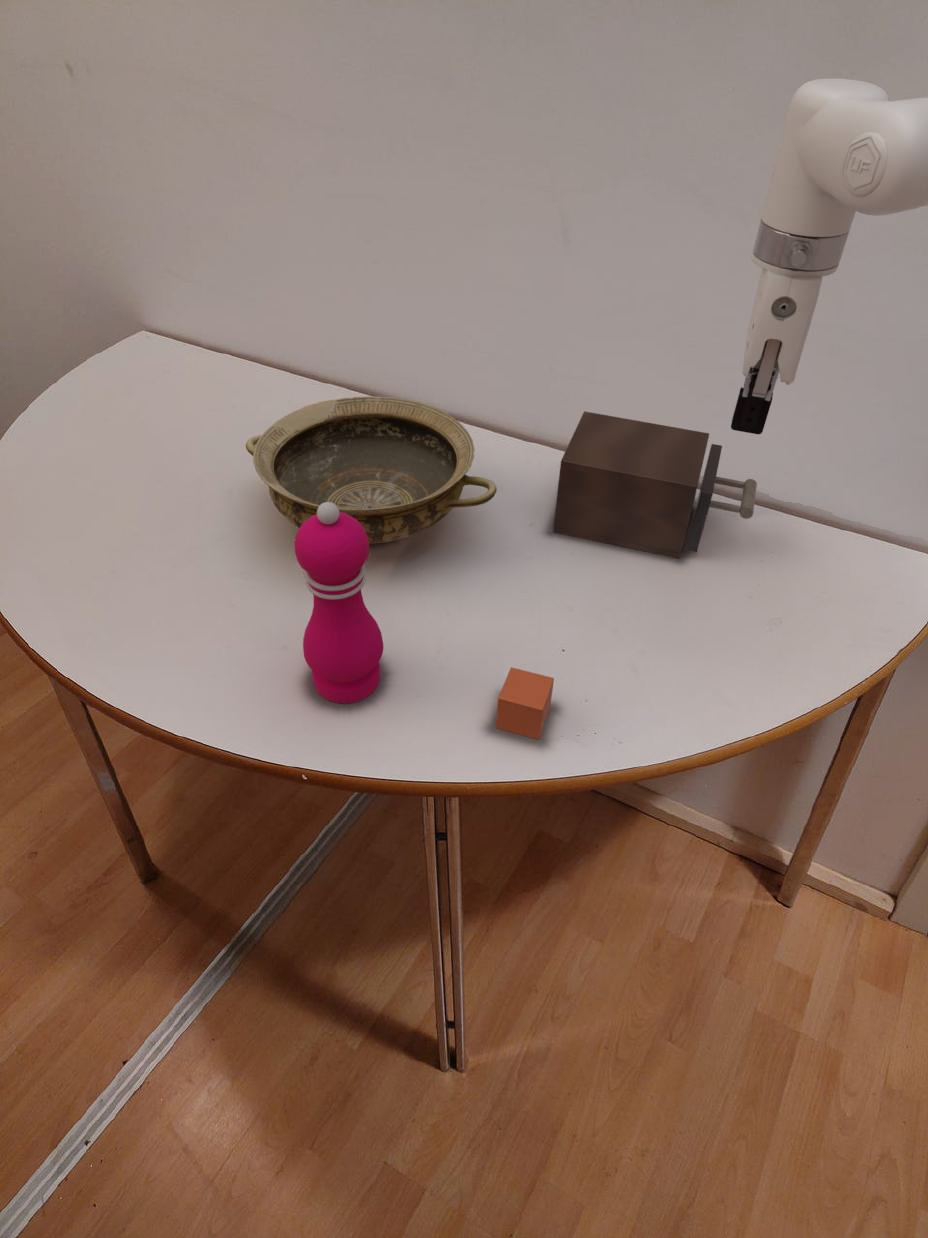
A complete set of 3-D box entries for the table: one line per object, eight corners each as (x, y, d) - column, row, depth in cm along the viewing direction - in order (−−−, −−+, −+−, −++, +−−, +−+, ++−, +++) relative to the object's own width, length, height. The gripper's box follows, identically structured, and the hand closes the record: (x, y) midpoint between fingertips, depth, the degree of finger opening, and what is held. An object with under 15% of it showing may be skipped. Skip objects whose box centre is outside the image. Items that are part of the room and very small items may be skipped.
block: (550, 707, 75) (554, 677, 73) (539, 739, 72) (542, 710, 70) (508, 696, 76) (510, 666, 73) (495, 728, 73) (497, 698, 71)
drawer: (747, 510, 97) (764, 453, 92) (740, 561, 90) (758, 502, 85) (596, 480, 101) (605, 424, 96) (578, 527, 94) (586, 469, 89)
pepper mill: (348, 720, 74) (328, 544, 60) (292, 683, 77) (260, 508, 63) (401, 674, 78) (392, 499, 64) (345, 641, 81) (326, 468, 67)
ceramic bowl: (523, 495, 100) (529, 422, 94) (451, 617, 84) (452, 539, 77) (306, 445, 108) (297, 374, 101) (201, 548, 91) (182, 472, 85)
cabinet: (692, 503, 100) (709, 433, 93) (679, 559, 92) (697, 486, 85) (575, 480, 103) (584, 410, 97) (552, 532, 95) (560, 460, 88)
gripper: (843, 280, 67) (779, 472, 80) (842, 225, 78) (786, 402, 90) (749, 268, 69) (701, 457, 81) (760, 215, 79) (717, 390, 92)
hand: (746, 428), depth 86 cm, fingers closed
